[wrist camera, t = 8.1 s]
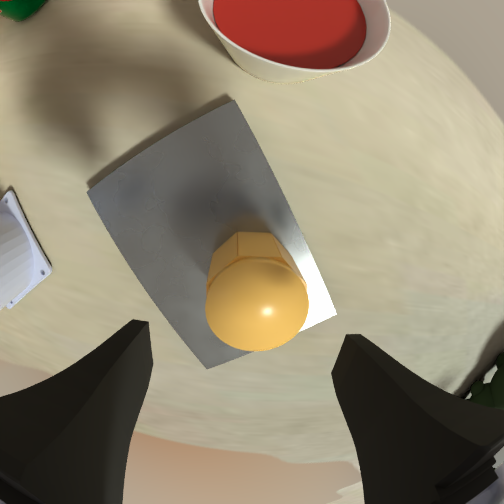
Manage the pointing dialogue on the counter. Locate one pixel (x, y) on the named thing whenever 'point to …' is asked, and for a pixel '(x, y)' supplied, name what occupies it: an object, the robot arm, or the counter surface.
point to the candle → (298, 35)
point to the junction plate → (199, 220)
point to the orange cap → (255, 293)
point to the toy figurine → (490, 389)
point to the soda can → (19, 8)
